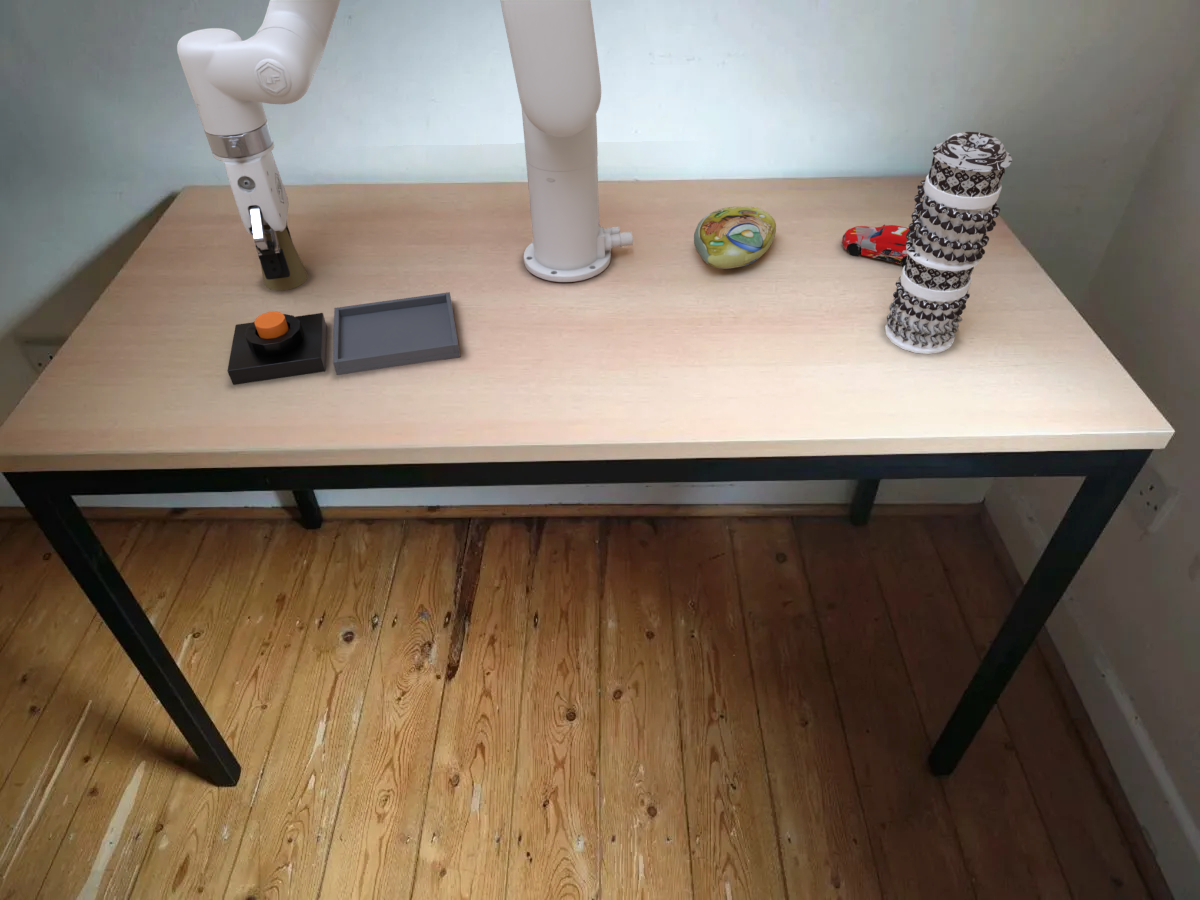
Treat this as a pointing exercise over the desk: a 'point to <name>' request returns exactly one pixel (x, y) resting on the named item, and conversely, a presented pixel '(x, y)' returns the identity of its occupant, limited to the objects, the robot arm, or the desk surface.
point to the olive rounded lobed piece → (293, 262)
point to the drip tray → (394, 333)
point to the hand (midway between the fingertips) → (280, 261)
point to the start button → (271, 325)
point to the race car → (878, 242)
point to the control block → (279, 350)
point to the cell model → (734, 236)
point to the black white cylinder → (946, 241)
